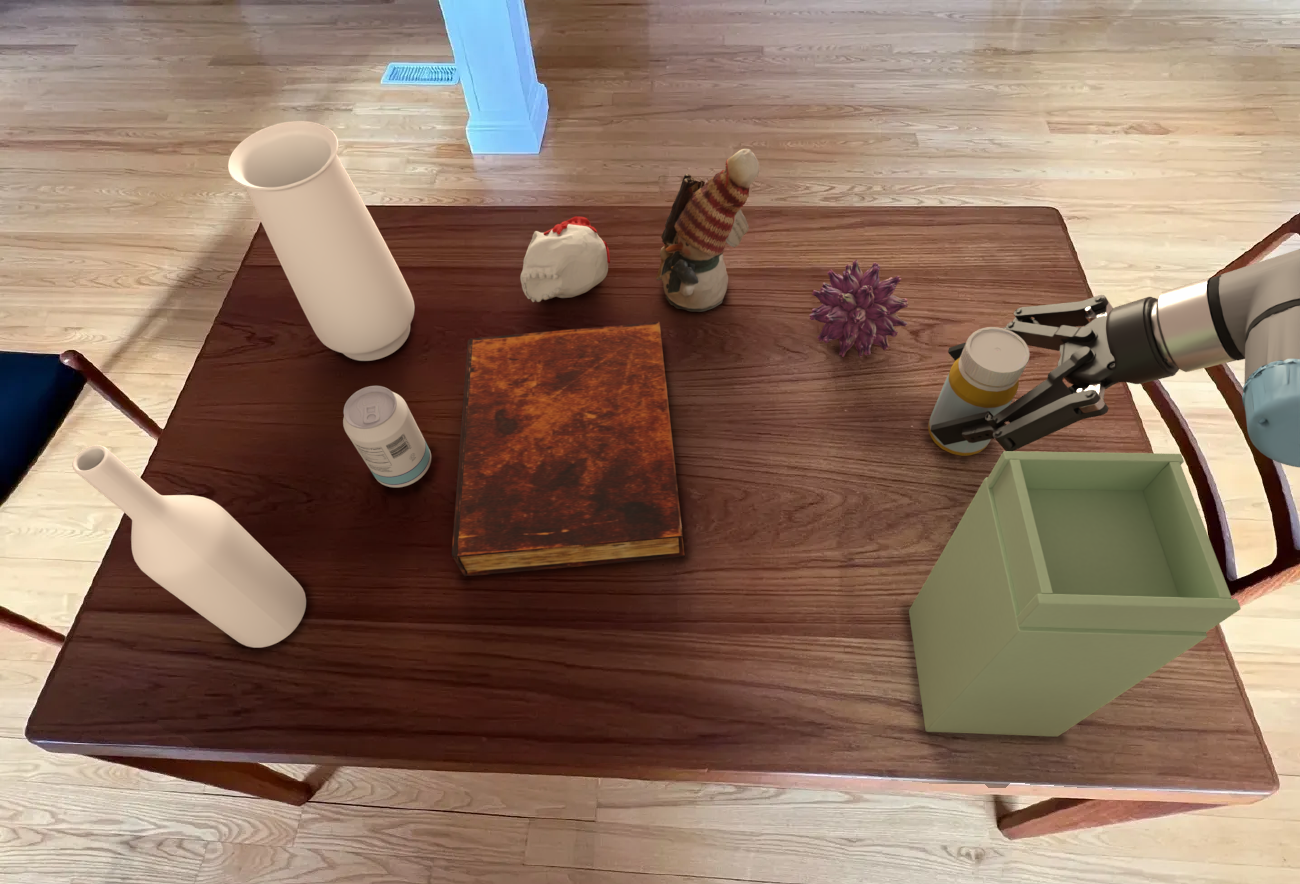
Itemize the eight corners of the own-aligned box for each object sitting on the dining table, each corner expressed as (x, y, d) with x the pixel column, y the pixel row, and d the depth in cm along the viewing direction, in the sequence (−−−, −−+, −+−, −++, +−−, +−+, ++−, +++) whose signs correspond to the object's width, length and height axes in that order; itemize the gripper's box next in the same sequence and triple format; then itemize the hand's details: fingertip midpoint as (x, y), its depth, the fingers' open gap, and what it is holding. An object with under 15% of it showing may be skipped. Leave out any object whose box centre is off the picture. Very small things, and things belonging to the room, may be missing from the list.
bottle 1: (238, 580, 86) (53, 420, 61) (312, 572, 86) (157, 409, 61) (222, 652, 82) (15, 511, 57) (301, 644, 82) (128, 499, 57)
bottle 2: (934, 460, 90) (972, 378, 78) (920, 411, 94) (954, 325, 82) (996, 456, 90) (1043, 374, 78) (979, 407, 94) (1022, 321, 82)
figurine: (669, 245, 112) (665, 119, 96) (756, 258, 110) (767, 130, 94) (645, 313, 105) (636, 189, 89) (738, 328, 103) (746, 204, 86)
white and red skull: (525, 317, 105) (540, 250, 115) (609, 316, 104) (617, 249, 114) (512, 261, 98) (530, 195, 108) (602, 260, 98) (612, 193, 108)
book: (476, 364, 102) (466, 338, 98) (662, 348, 102) (660, 321, 98) (462, 576, 85) (450, 556, 81) (684, 556, 85) (683, 535, 81)
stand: (1029, 613, 80) (1180, 449, 55) (1058, 736, 73) (1243, 613, 48) (908, 610, 81) (1002, 447, 56) (925, 731, 74) (1040, 608, 49)
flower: (791, 340, 103) (857, 284, 105) (859, 393, 97) (928, 333, 99) (783, 284, 94) (856, 223, 95) (858, 339, 88) (934, 274, 89)
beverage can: (432, 437, 96) (401, 375, 86) (435, 485, 92) (403, 425, 82) (374, 449, 95) (337, 387, 85) (375, 497, 91) (336, 439, 81)
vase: (430, 296, 109) (357, 113, 86) (412, 370, 102) (328, 191, 79) (338, 298, 110) (241, 118, 87) (314, 371, 103) (201, 195, 79)
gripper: (1183, 460, 67) (947, 499, 83) (1186, 275, 79) (979, 341, 95) (1145, 407, 64) (907, 458, 80) (1154, 222, 76) (945, 300, 92)
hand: (946, 395), depth 88 cm, fingers open, 11 cm apart
